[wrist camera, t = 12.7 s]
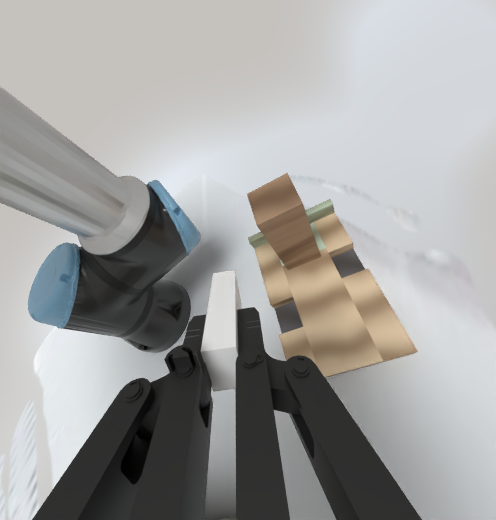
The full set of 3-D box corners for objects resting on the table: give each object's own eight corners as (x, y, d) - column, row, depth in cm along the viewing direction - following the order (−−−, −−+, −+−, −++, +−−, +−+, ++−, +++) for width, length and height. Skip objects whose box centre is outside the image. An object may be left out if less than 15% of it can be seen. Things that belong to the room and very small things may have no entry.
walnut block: (321, 256, 37) (302, 203, 26) (288, 270, 39) (256, 225, 28) (308, 230, 41) (287, 172, 30) (278, 243, 42) (247, 194, 31)
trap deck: (414, 353, 29) (421, 349, 25) (297, 384, 33) (288, 385, 29) (333, 216, 43) (330, 199, 39) (258, 249, 47) (248, 237, 43)
